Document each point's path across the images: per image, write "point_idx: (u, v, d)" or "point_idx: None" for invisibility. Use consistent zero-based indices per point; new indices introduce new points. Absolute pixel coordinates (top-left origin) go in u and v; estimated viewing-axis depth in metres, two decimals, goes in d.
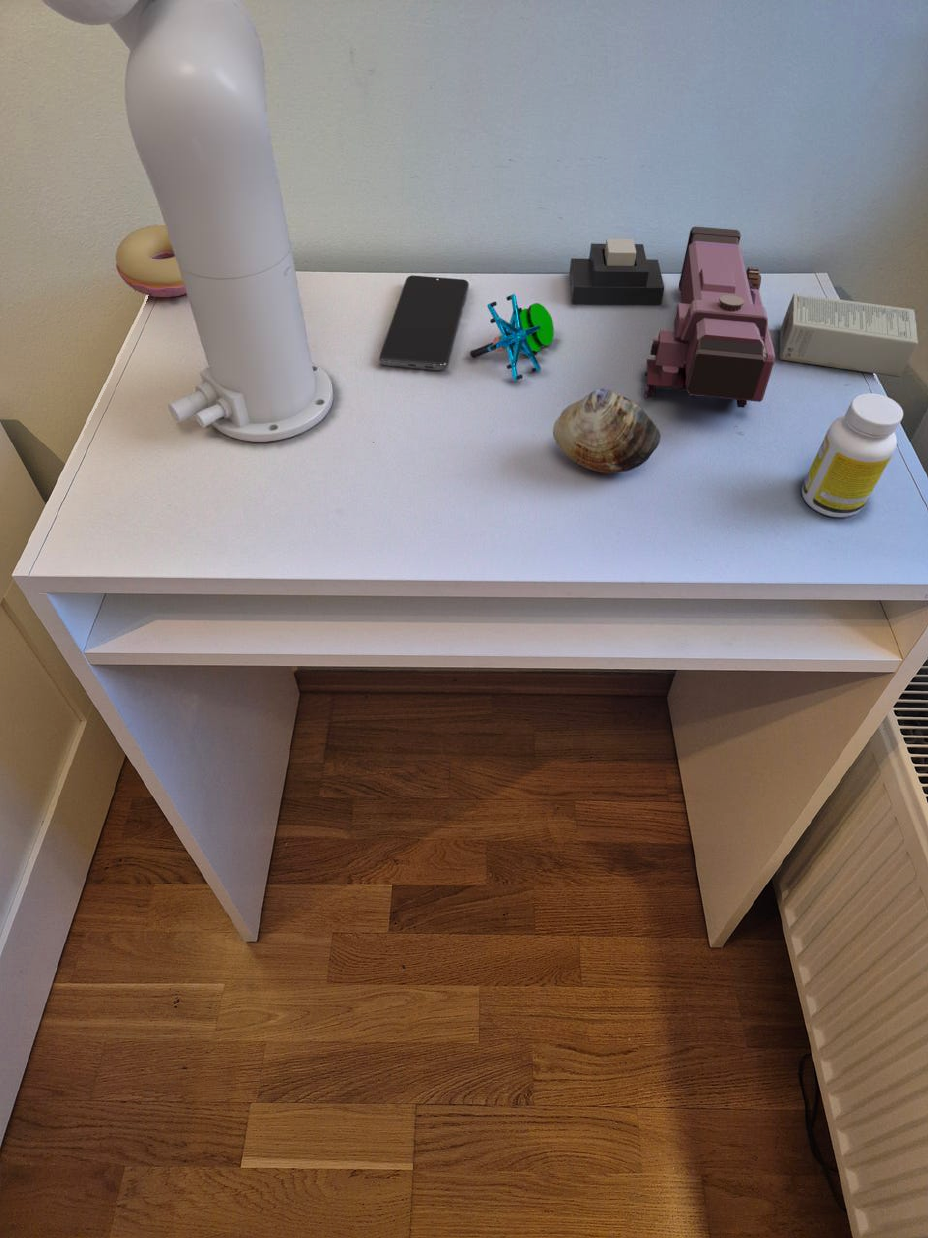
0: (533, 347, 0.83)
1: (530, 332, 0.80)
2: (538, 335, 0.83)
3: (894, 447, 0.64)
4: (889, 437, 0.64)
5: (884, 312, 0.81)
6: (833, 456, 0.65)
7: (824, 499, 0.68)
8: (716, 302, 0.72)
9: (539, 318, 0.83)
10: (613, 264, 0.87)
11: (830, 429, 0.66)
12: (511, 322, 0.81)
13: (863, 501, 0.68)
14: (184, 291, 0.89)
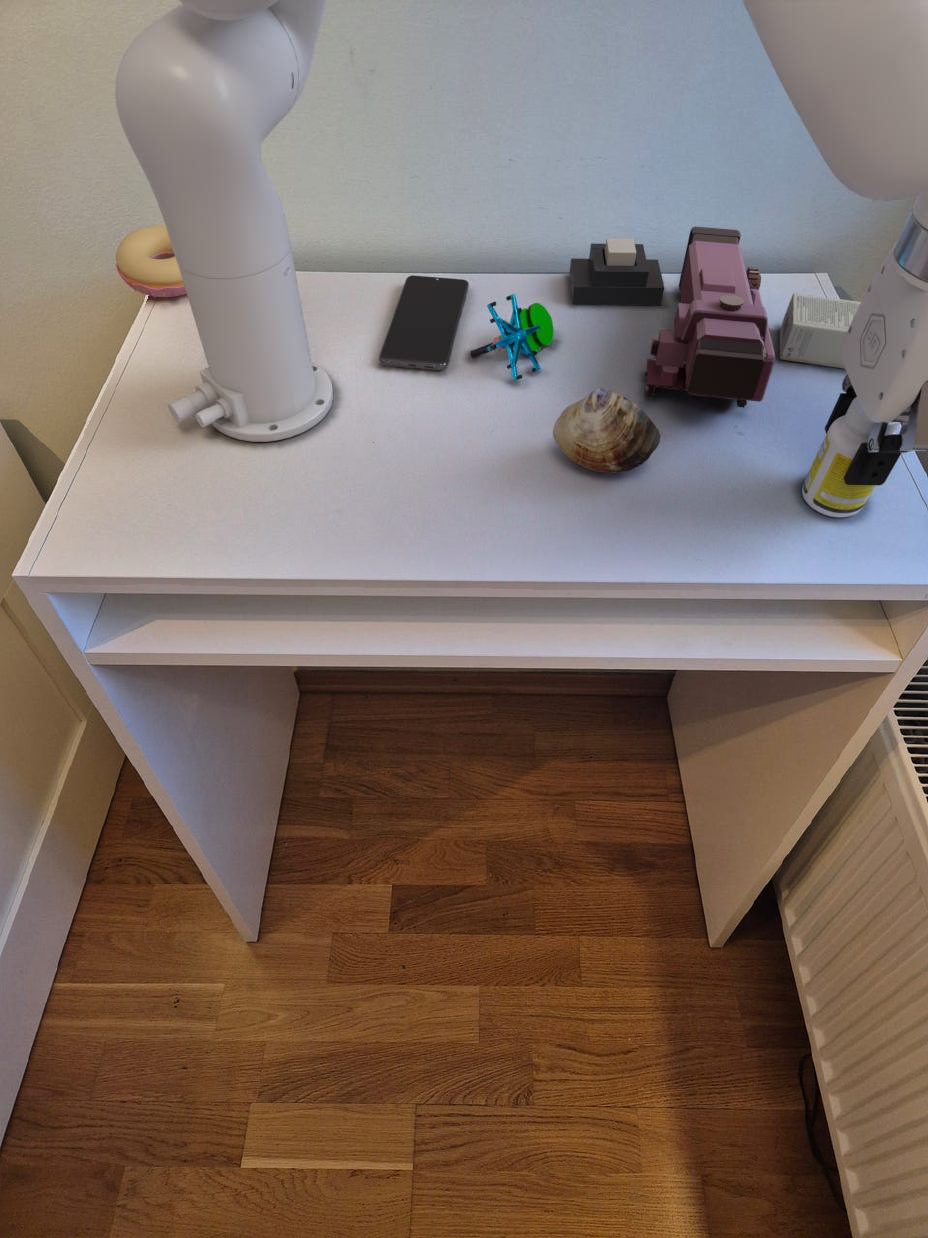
0: (533, 347, 0.83)
1: (530, 332, 0.80)
2: (538, 335, 0.83)
3: None
4: None
5: None
6: (833, 456, 0.65)
7: (824, 499, 0.68)
8: (716, 302, 0.72)
9: (539, 318, 0.83)
10: (613, 264, 0.87)
11: (830, 429, 0.66)
12: (511, 322, 0.81)
13: (863, 501, 0.68)
14: (184, 291, 0.89)
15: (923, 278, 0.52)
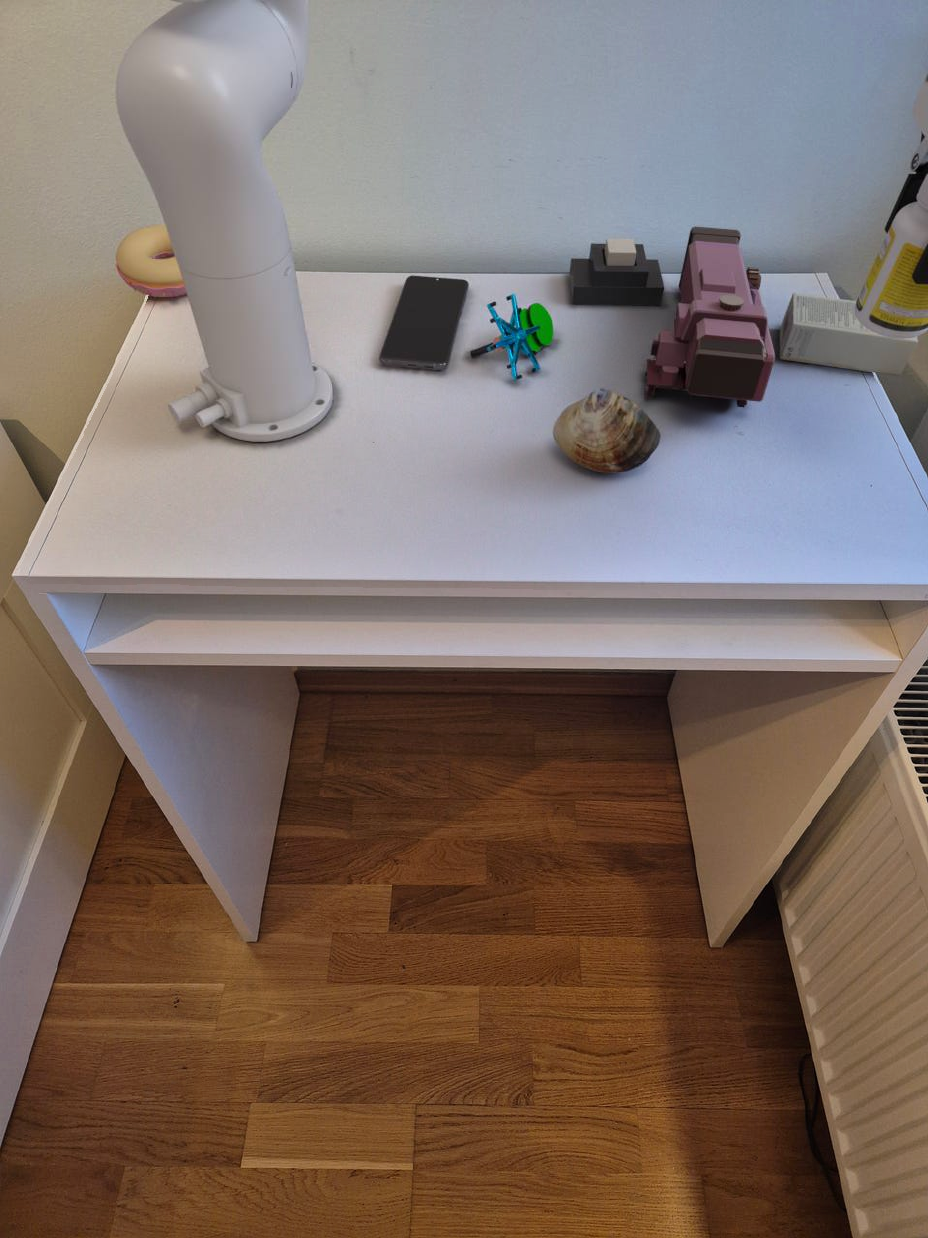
0: (533, 347, 0.83)
1: (530, 332, 0.80)
2: (538, 335, 0.83)
3: None
4: None
5: None
6: (900, 249, 0.53)
7: (884, 313, 0.56)
8: (716, 302, 0.72)
9: (539, 318, 0.83)
10: (613, 264, 0.87)
11: (896, 217, 0.53)
12: (511, 322, 0.81)
13: None
14: (184, 291, 0.89)
15: None
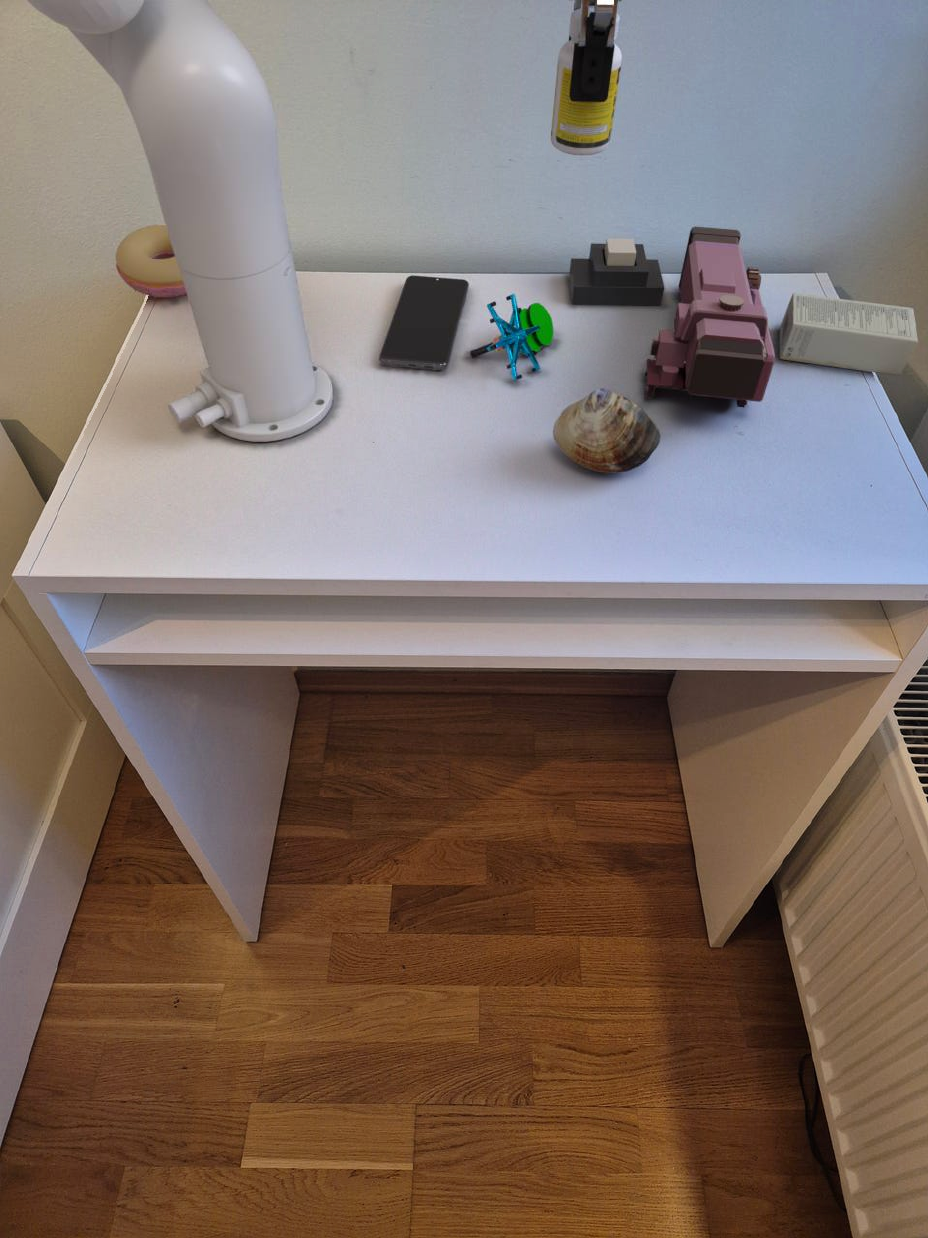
0: (533, 347, 0.83)
1: (530, 332, 0.80)
2: (538, 335, 0.83)
3: (616, 59, 0.66)
4: None
5: (883, 311, 0.81)
6: (561, 75, 0.67)
7: (563, 132, 0.70)
8: (716, 302, 0.72)
9: (539, 318, 0.83)
10: (613, 264, 0.87)
11: (560, 50, 0.67)
12: (511, 322, 0.81)
13: (600, 133, 0.70)
14: (184, 291, 0.89)
15: None
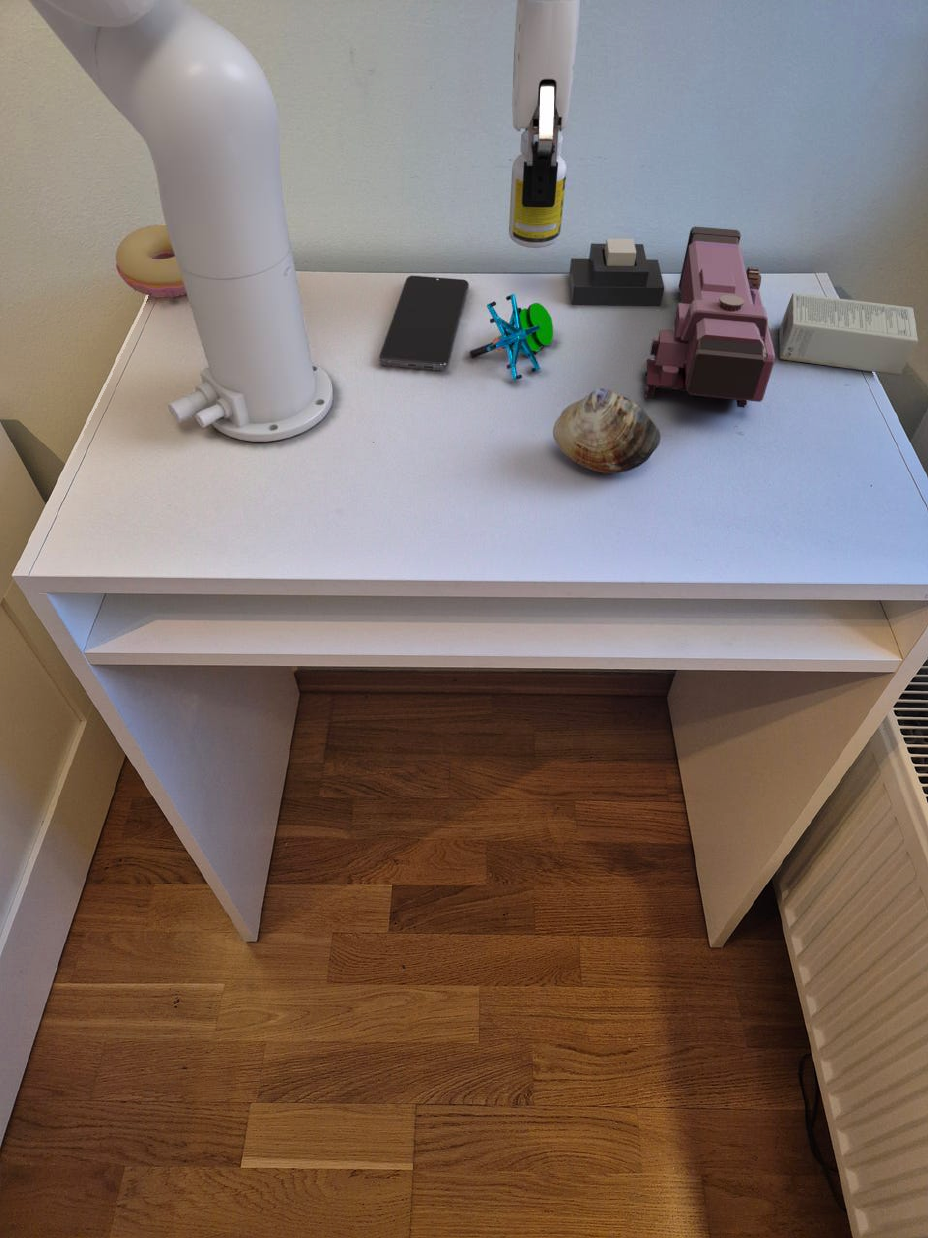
0: (533, 347, 0.83)
1: (530, 332, 0.80)
2: (538, 335, 0.83)
3: (560, 172, 0.77)
4: None
5: (883, 310, 0.81)
6: (515, 184, 0.78)
7: (518, 229, 0.81)
8: (716, 302, 0.72)
9: (539, 318, 0.83)
10: (613, 264, 0.87)
11: None
12: (511, 322, 0.81)
13: (550, 230, 0.81)
14: (184, 291, 0.89)
15: None
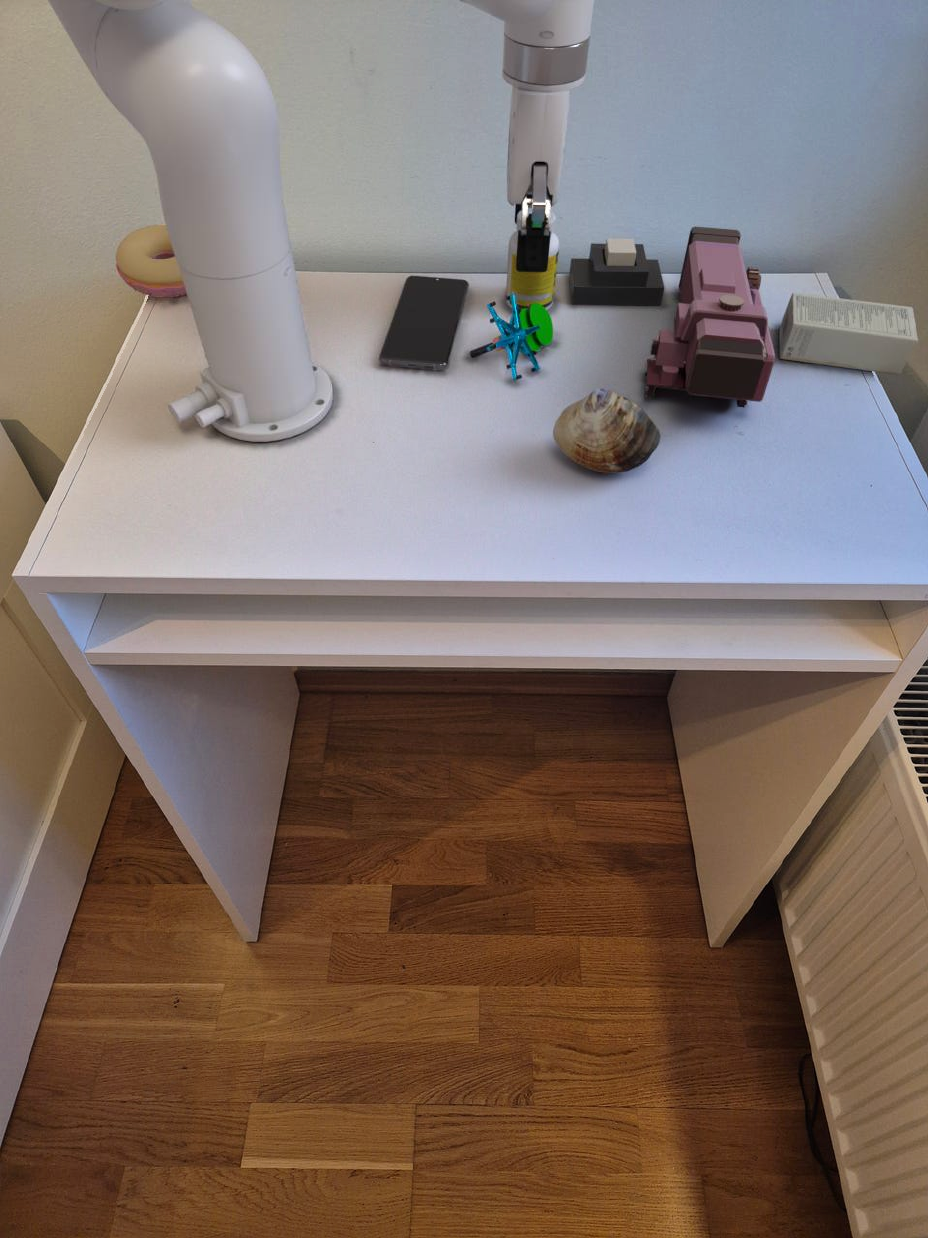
0: (532, 347, 0.83)
1: (529, 332, 0.80)
2: (537, 335, 0.83)
3: (554, 248, 0.83)
4: None
5: (883, 310, 0.81)
6: (511, 258, 0.84)
7: None
8: (716, 302, 0.72)
9: (538, 318, 0.83)
10: (613, 264, 0.87)
11: (510, 237, 0.84)
12: (510, 322, 0.81)
13: (544, 299, 0.87)
14: (184, 291, 0.89)
15: (513, 76, 0.70)
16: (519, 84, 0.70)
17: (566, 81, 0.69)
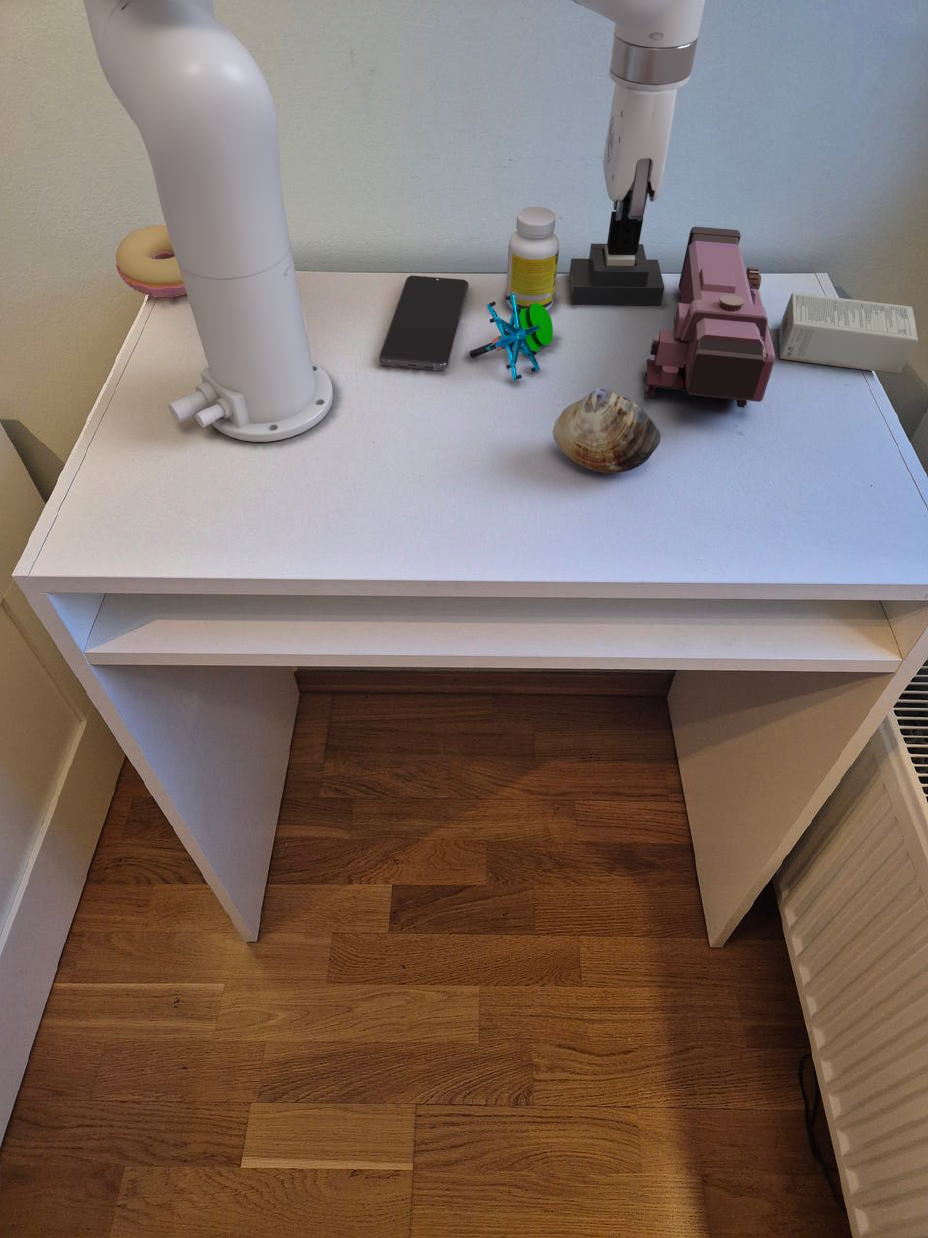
0: (532, 347, 0.83)
1: (529, 332, 0.80)
2: (537, 335, 0.83)
3: (553, 248, 0.83)
4: (549, 240, 0.83)
5: (883, 310, 0.81)
6: (511, 258, 0.84)
7: None
8: (716, 302, 0.72)
9: (538, 318, 0.83)
10: None
11: (510, 237, 0.84)
12: (510, 322, 0.81)
13: (544, 299, 0.87)
14: (184, 291, 0.89)
15: (623, 77, 0.72)
16: (629, 84, 0.72)
17: (675, 80, 0.71)
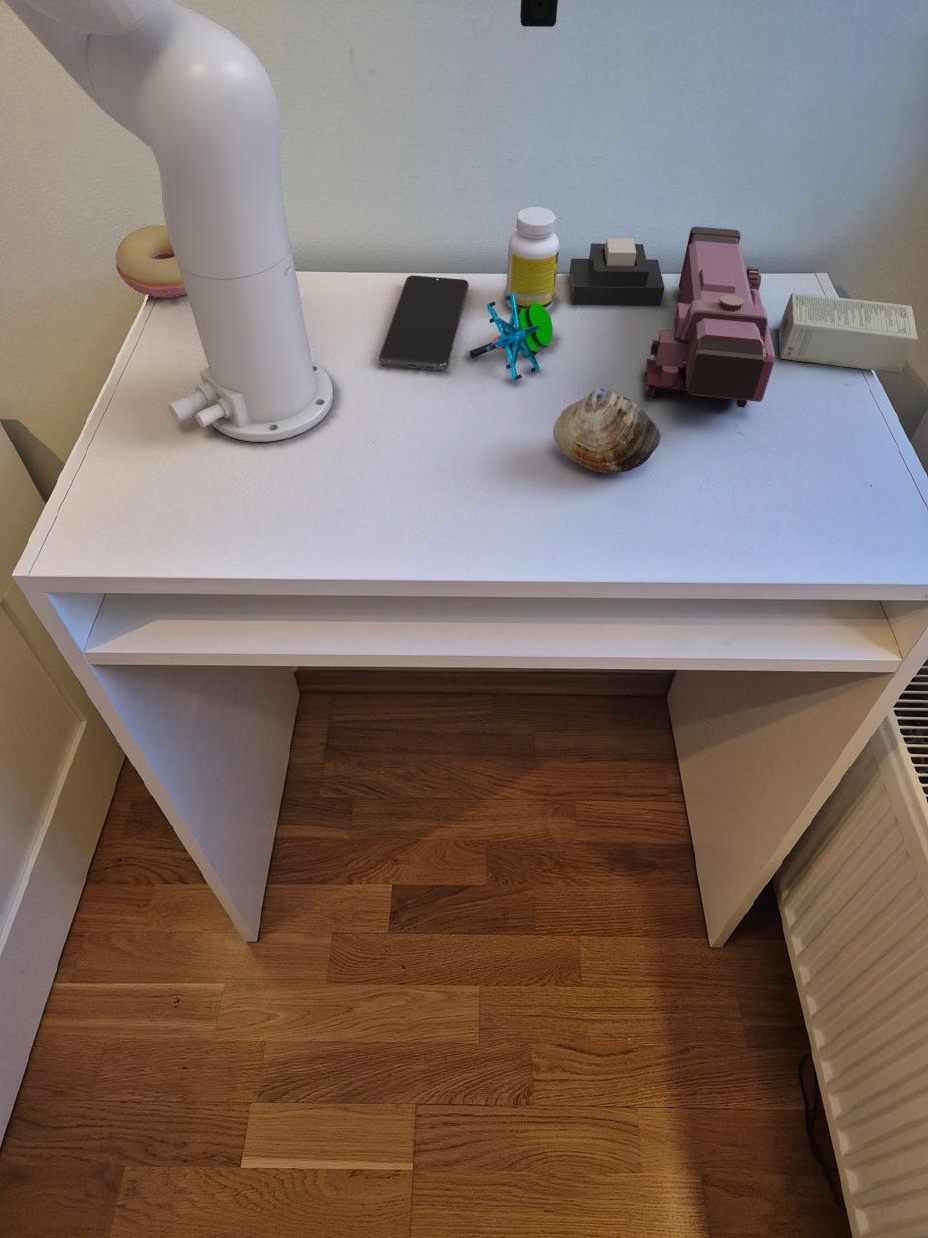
0: (532, 347, 0.83)
1: (529, 332, 0.80)
2: (537, 335, 0.83)
3: (553, 248, 0.83)
4: (549, 240, 0.83)
5: (882, 309, 0.81)
6: (511, 258, 0.84)
7: None
8: (716, 302, 0.72)
9: (538, 318, 0.83)
10: (613, 264, 0.87)
11: (510, 237, 0.84)
12: (510, 322, 0.81)
13: (544, 299, 0.87)
14: (184, 291, 0.89)
15: None
16: None
17: None
